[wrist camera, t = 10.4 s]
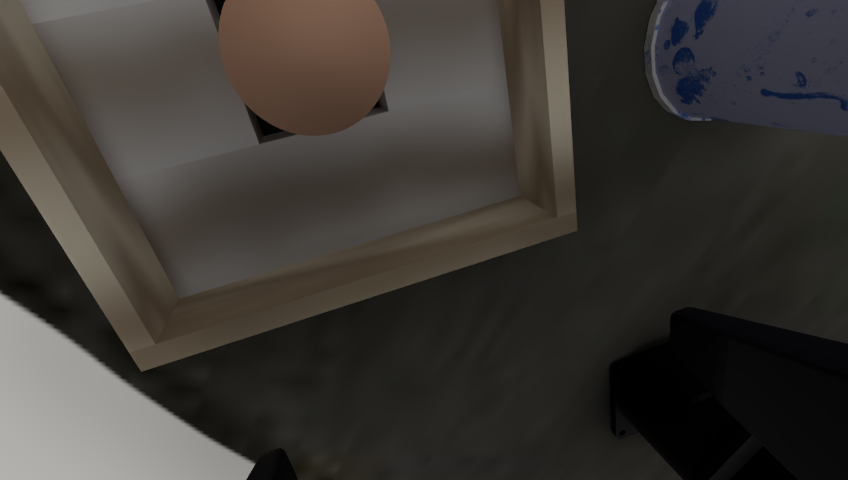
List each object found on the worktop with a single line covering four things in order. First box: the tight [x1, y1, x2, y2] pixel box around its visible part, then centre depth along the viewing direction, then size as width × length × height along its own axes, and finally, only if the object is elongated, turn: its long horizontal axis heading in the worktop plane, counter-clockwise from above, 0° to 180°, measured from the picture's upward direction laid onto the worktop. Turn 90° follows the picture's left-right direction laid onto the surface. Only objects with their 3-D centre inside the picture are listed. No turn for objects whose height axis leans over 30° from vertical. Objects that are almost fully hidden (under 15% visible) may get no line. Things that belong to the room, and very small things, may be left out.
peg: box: [218, 0, 391, 136], centre depth 12 cm, size 3×3×9 cm
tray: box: [0, 0, 577, 372], centre depth 14 cm, size 16×16×5 cm
